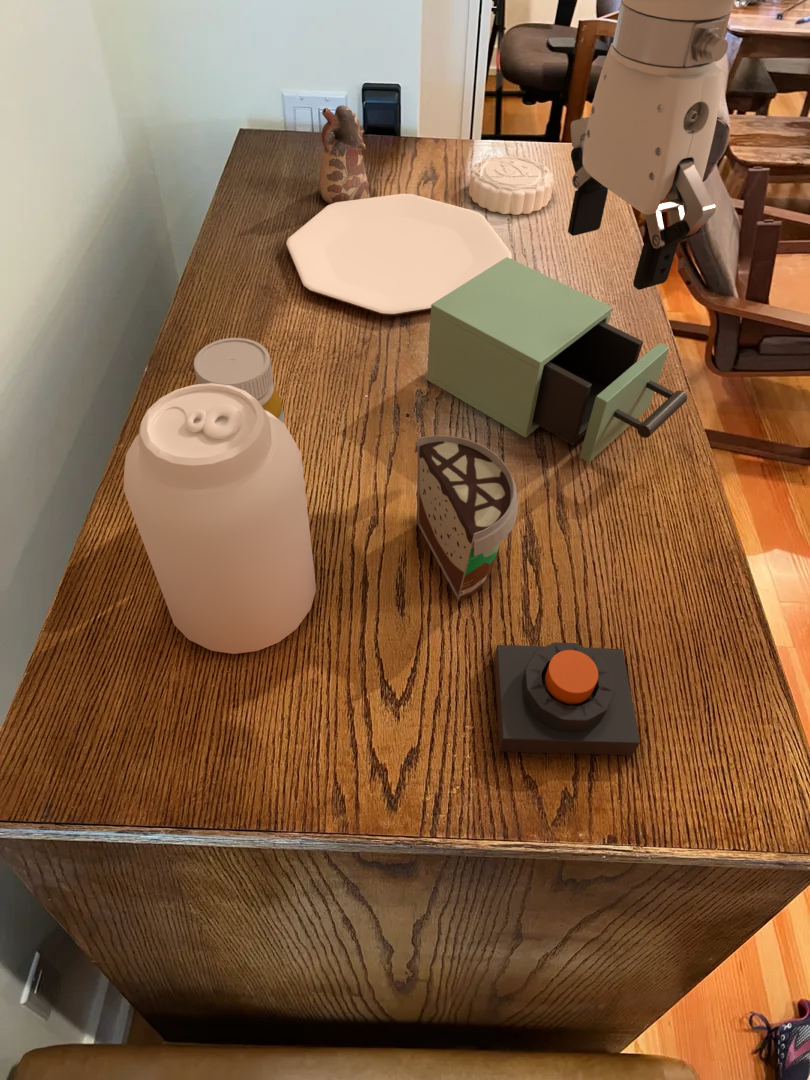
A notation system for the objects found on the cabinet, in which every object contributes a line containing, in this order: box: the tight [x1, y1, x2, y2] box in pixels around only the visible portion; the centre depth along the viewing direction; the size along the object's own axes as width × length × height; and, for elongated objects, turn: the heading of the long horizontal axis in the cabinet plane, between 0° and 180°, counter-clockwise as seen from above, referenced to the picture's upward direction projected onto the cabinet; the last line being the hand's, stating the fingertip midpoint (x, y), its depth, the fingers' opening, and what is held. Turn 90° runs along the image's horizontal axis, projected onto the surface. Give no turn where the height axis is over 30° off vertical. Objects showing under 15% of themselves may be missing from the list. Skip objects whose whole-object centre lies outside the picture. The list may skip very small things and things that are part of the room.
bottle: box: [193, 337, 285, 424], centre depth 68 cm, size 7×7×15 cm
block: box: [493, 642, 641, 757], centre depth 58 cm, size 10×8×4 cm
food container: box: [414, 434, 519, 602], centre depth 66 cm, size 12×6×10 cm, turn 22°
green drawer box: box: [426, 257, 613, 439], centre depth 81 cm, size 14×13×10 cm
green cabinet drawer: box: [532, 321, 688, 463], centre depth 77 cm, size 17×11×8 cm
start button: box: [545, 650, 598, 704], centre depth 56 cm, size 4×4×2 cm
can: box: [123, 383, 317, 655], centre depth 58 cm, size 12×12×20 cm
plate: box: [285, 193, 513, 317], centre depth 100 cm, size 28×28×2 cm
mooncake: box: [468, 154, 555, 216], centre depth 111 cm, size 12×12×4 cm
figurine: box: [318, 104, 371, 205], centre depth 107 cm, size 7×7×12 cm
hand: (615, 257), depth 68 cm, fingers open, 9 cm apart
